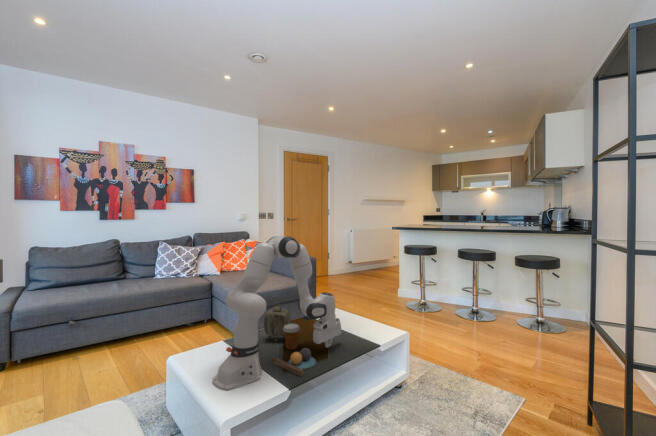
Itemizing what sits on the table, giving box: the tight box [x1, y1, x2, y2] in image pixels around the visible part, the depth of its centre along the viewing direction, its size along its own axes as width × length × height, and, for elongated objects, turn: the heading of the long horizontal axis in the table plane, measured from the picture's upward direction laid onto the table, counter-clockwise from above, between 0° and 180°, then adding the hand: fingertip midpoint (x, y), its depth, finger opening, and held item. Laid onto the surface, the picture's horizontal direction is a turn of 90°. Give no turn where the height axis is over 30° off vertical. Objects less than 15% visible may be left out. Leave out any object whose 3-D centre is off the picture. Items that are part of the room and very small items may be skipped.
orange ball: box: [289, 351, 302, 365], centre depth 157 cm, size 6×6×6 cm
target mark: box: [287, 356, 317, 370], centre depth 159 cm, size 14×14×1 cm
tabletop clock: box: [263, 298, 292, 343], centre depth 188 cm, size 14×9×25 cm, turn 84°
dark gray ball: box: [299, 347, 312, 360], centre depth 162 cm, size 6×6×6 cm
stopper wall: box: [272, 357, 305, 377], centre depth 152 cm, size 2×20×2 cm, turn 48°
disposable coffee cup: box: [283, 323, 301, 350], centre depth 178 cm, size 10×10×12 cm
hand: (328, 346), depth 174 cm, fingers closed
